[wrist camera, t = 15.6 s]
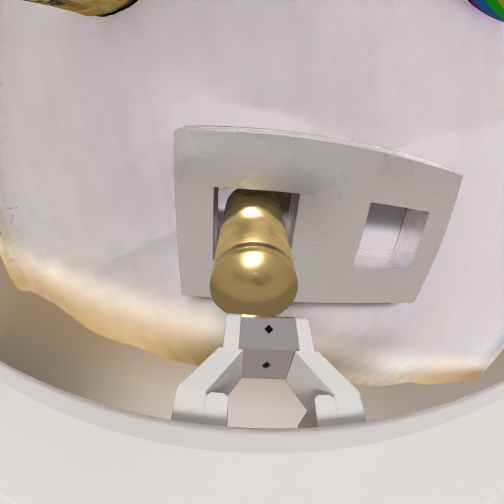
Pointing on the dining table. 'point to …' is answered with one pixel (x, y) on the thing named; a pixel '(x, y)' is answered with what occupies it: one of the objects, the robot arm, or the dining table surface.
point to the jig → (314, 208)
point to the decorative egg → (490, 8)
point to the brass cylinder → (253, 257)
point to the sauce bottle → (89, 6)
